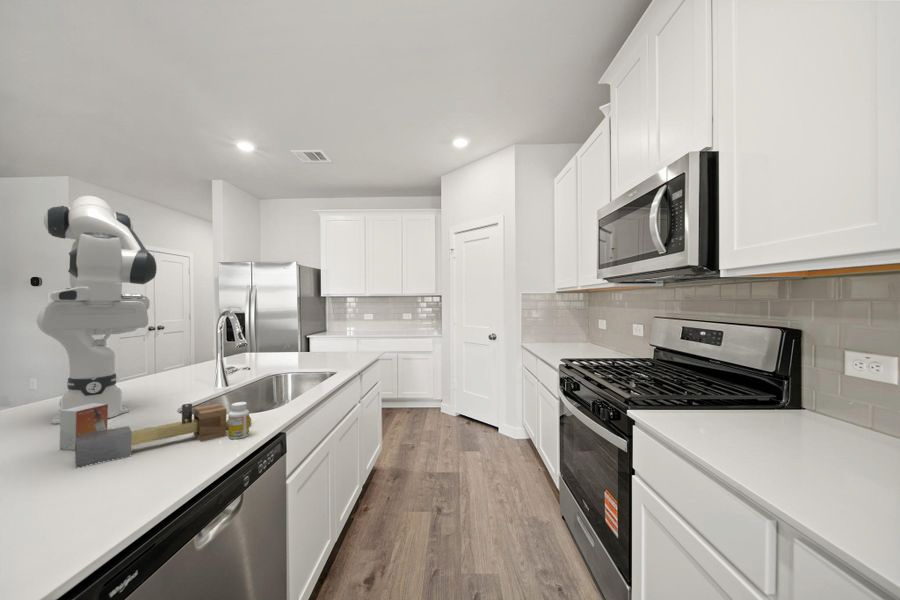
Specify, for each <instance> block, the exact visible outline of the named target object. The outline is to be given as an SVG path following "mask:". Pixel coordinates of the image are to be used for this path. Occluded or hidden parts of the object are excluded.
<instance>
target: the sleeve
mask: <svg viewBox="0 0 900 600" xmlns="http://www.w3.org/2000/svg"><path fill="white" fill-rule="evenodd" d="M132 431H133V430H131V428H130V427H129V425H127V426H122V427H120V426H119V427H115V428H110V429H107V430H104V431H98V432H92V433H87V434H81V435H76V450H75V457H74V458H75V460H76V461H75V468H76V469H78V468H77V467H80V468H83V467H82V466H84V467H87V466H86V465H89V466H91V465H90V464H93V465H96V464H95V463H98V462H102V463H104V462H103V461H106V462H108V461H107V460H111V461H113V460H112V459H115V460H118V459H117V458H120V459H122V458H121V457H124V458H126V457H125V456H129V457H131V456H132V446H131V437H132ZM130 455H131V456H130ZM98 464H99V463H98Z"/></svg>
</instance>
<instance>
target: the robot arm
mask: <svg viewBox="0 0 900 600" xmlns="http://www.w3.org/2000/svg"><path fill="white" fill-rule="evenodd" d="M43 225H44V227H45V229H46V231H47V233H48V235H49V234H50V236H52V237H55V238H58V239H70V240H74V242H73V243H72V246H71V248H70V249H71V250H70V252H68V255H69V262H68V263H69V265H68V267H69V269H68V270H67V271H68V273H69V286H70V287H66V288H64V289H60V290H55V291H54V290H53V291H52V292H51V293H50V294H49V295H50V299H51V300H52V301H50V302H49V303H48V304H46V306H45V307H44V308H42V309H41V310H40V311H39V313H38V315H37V318H36V323H37V326H38V328H39V330H40V331H41V332H42V333H44V334H45V335H46V336H49V337H51V338H53V339H55V341H58V342H59V343H60V344H61V345H62V346H63V348H64V349H65V351H66V353H67V356H68V362H69V364H68V365H69V377H68V378H67V382H66V385H67V389H68V390H67V391H66V392H65V393H64V394H63V395H62V396H61V398H60V399H59V407H60V408H59V412H60V411H61V410H65V409H70V408H74V407H79V406H83V405H87V404H90V403H101V404H108V419H110V418H113V417H116V416H119V415H121V414H125V413H128V412H129V408H128V407H125V406H123V394H122V393H123V392H122V389H121V388H120V387H118V386H117V385H116V384H117V380H118V379H117V378H118V377H117V374H116V373H115V367H116V366H115V365H116V364H115V361H116V360H115V358H116V355H115V352H114V350H112V349H111V348H110V347H107V340H108V339H109V337H111V335H121V334H125V333H130V332H131V333H132V332H135V331H137V330H138V329H143V328H146V327H148V325H149V314H148V310H149V308H150V299H149V298H148V297H147V296H145V295H143V294H129V293H128V294H126V293H123V283H126V284H134V285H135V284H136V285H145V284H147V283H149V282H150V281H152V280H153V279H155V277H156V274H157V270H158V269H157V261H156V259H155V257H154V255H152V254H151V253H150V252H149V251H148V250H147V249H146V247H145V245H144V243H142V242H141V240H140V238H139V237H138V235H137V234H136V233H135V231H134V225H133V222H132V221H131V217H129V215H127V214H125V213H121V212H117V211H116V212H114V211H113V209H112V208H111V206H110V205H109V204H108V202H106V201H105V200H104V199H102V198H100V197H98V196H94V195H82V196H80V197H77V198H76V199H75V200H73V202H72V203H71V205H70V206H66V205H60V206H52V207H50V208H49V209H47V211H46V213H45V214H44V216H43ZM100 335H101V336H103V337H102V338H99V339H98V338H97V339H95V338H94V337H93V336H100ZM51 424H53V425H54V424H60V413H58V414H57V415H56V416H55V417H54V418H53V419H52V420H51Z"/></svg>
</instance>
